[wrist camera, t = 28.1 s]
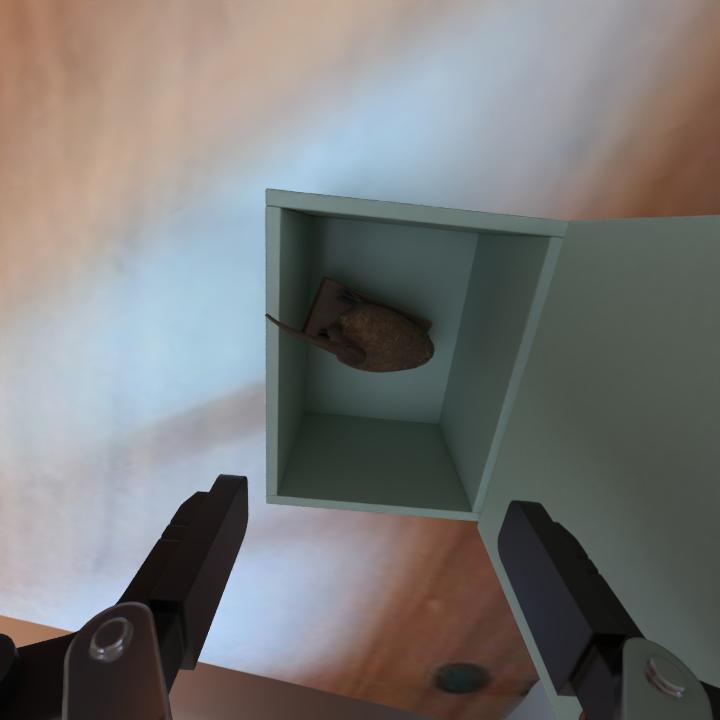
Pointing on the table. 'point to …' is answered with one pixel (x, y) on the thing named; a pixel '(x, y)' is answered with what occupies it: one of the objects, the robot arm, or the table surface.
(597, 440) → the lid
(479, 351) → the chest
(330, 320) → the figurine
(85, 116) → the table surface
